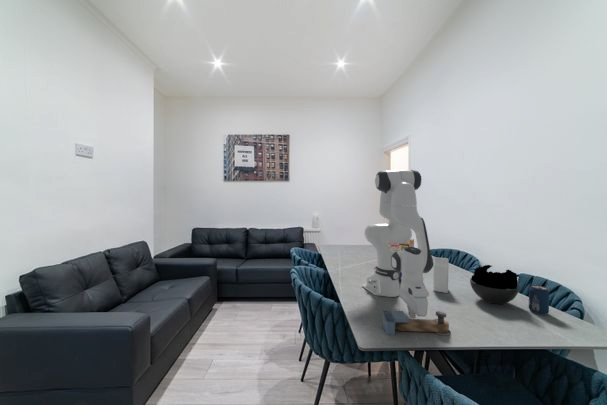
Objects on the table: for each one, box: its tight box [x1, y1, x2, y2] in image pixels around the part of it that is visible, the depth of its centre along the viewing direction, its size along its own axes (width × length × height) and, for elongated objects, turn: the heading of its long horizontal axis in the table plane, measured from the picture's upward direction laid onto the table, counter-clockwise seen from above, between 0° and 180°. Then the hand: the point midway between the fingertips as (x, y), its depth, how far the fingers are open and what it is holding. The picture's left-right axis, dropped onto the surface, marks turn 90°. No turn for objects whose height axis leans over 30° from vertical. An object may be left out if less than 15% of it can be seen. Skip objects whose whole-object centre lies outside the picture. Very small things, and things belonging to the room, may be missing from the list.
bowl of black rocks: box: [469, 264, 520, 305], centre depth 129 cm, size 20×20×19 cm
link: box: [395, 310, 450, 333], centre depth 102 cm, size 21×6×7 cm, turn 87°
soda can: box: [528, 284, 550, 316], centre depth 118 cm, size 7×7×12 cm
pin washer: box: [434, 329, 452, 336], centre depth 102 cm, size 7×7×1 cm
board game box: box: [387, 238, 415, 281], centre depth 167 cm, size 20×6×27 cm, turn 46°
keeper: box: [381, 310, 410, 335], centre depth 102 cm, size 8×7×6 cm
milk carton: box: [433, 256, 449, 294], centre depth 146 cm, size 7×7×19 cm
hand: (411, 316), depth 110 cm, fingers closed
